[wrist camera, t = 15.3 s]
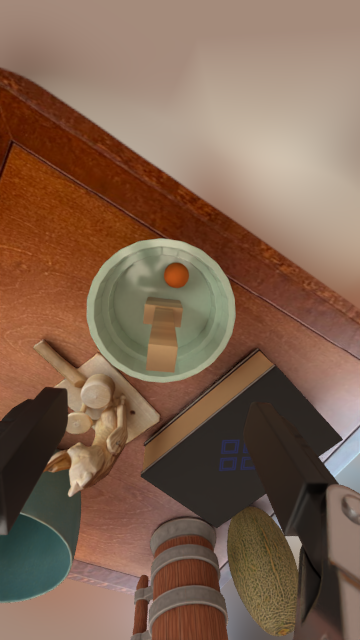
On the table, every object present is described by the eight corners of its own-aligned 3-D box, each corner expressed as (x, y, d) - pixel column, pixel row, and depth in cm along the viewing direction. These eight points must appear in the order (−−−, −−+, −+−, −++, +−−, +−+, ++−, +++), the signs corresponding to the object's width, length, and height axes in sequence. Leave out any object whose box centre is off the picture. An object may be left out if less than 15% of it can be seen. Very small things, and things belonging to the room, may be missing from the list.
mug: (228, 538, 46) (256, 665, 32) (159, 578, 48) (157, 713, 34) (189, 505, 42) (202, 632, 28) (117, 550, 45) (94, 688, 30)
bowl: (106, 234, 27) (87, 227, 21) (230, 252, 29) (249, 251, 22) (102, 351, 32) (85, 376, 25) (209, 361, 34) (220, 387, 27)
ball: (160, 274, 29) (175, 255, 27) (179, 288, 29) (194, 270, 28) (157, 281, 26) (172, 260, 25) (178, 296, 27) (194, 277, 25)
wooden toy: (163, 418, 36) (162, 510, 23) (115, 448, 37) (88, 552, 24) (72, 317, 30) (0, 363, 17) (18, 357, 31) (-87, 428, 18)
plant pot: (72, 513, 41) (35, 617, 29) (-25, 480, 37) (-114, 584, 25) (119, 449, 37) (98, 538, 25) (16, 405, 33) (-64, 485, 22)
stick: (148, 296, 29) (129, 339, 14) (180, 300, 30) (196, 345, 14) (146, 313, 30) (127, 371, 14) (177, 316, 30) (191, 377, 15)
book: (313, 409, 38) (343, 439, 31) (209, 486, 41) (217, 528, 35) (255, 345, 33) (276, 366, 27) (144, 438, 37) (140, 476, 31)
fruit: (209, 522, 44) (230, 649, 30) (237, 486, 42) (275, 605, 27) (253, 535, 46) (292, 659, 32) (282, 501, 44) (339, 619, 30)
